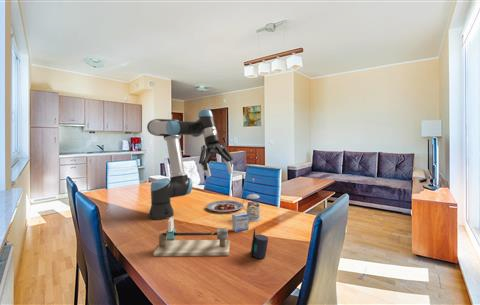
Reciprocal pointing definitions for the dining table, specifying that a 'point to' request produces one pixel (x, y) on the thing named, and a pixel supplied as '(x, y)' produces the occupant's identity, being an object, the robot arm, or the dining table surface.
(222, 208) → the ceramic plate
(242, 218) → the medicine box
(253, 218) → the french press
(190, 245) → the cord rig
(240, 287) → the dining table surface
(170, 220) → the white slab teal box
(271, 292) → the dining table surface
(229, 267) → the dining table surface
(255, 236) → the speaker
